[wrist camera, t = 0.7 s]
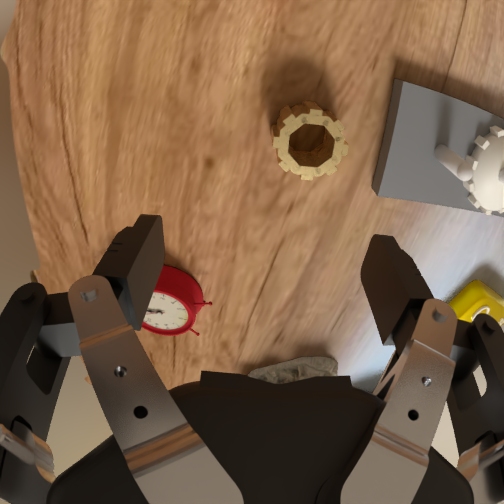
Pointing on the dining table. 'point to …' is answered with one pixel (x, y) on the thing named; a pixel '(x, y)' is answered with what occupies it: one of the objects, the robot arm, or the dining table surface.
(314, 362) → the ceramic cottage
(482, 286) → the element tile
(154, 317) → the alarm clock
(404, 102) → the gear board
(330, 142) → the brass gear
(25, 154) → the dining table surface
